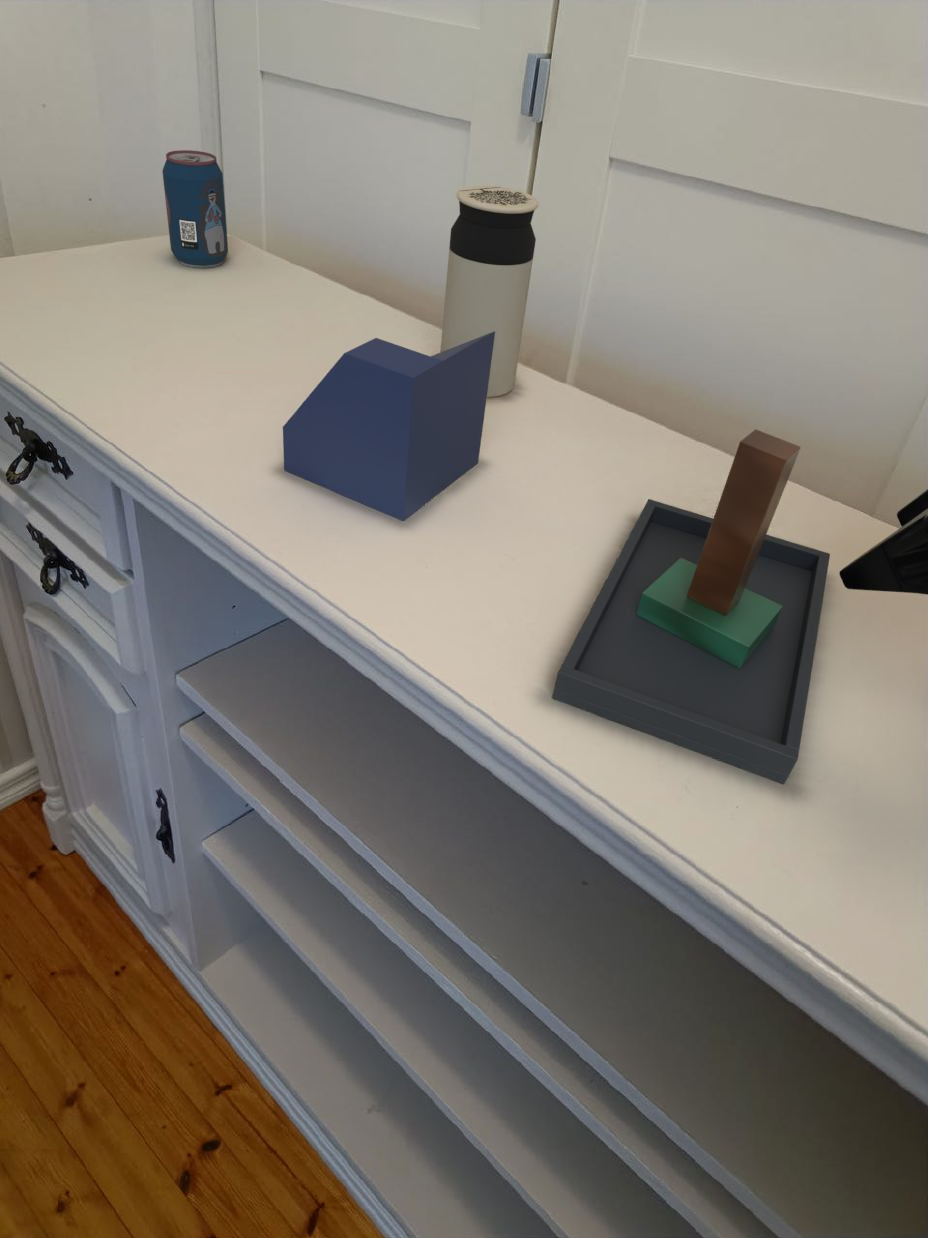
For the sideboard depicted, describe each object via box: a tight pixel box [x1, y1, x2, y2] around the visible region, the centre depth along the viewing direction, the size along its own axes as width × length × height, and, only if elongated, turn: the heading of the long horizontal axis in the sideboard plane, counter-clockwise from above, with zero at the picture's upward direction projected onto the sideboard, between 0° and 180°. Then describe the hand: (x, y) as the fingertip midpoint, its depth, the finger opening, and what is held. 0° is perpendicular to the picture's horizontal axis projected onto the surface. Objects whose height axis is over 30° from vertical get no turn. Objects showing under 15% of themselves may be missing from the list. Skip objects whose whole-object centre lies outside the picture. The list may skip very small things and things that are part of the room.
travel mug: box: [439, 185, 539, 398], centre depth 83 cm, size 8×8×18 cm
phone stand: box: [282, 331, 495, 522], centre depth 70 cm, size 12×12×12 cm
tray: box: [551, 498, 831, 785], centre depth 60 cm, size 24×15×2 cm, turn 157°
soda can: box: [162, 149, 229, 269], centre depth 104 cm, size 7×7×12 cm
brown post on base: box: [636, 429, 801, 668], centre depth 56 cm, size 8×6×14 cm
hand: (873, 548), depth 50 cm, fingers open, 9 cm apart
